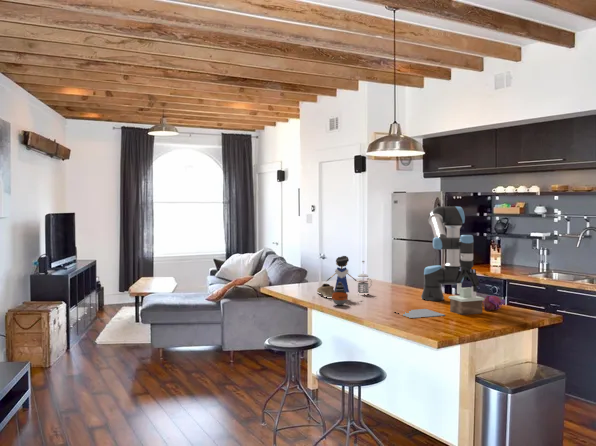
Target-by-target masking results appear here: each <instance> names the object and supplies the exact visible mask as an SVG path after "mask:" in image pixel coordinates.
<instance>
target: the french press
mask: <svg viewBox="0 0 596 446" xmlns="http://www.w3.org/2000/svg"><path fill="white" fill-rule="evenodd" d="M361 263H365V260H362V261H361ZM357 277H359V278H366V279H367V280H357V281H358V282H357V293H358V292H359V293H369V289H370V288H371V287H372V286H373V285H372V284H373V281H372V279H371V278H370V277H369V275H368V274H366V273H364V272H362V273H359V274H358V275H357ZM368 280H369V281H368ZM369 282H370V283H369ZM369 284H370V285H369Z"/></svg>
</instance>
